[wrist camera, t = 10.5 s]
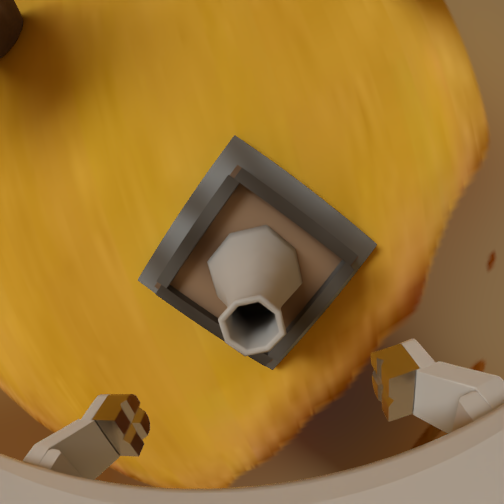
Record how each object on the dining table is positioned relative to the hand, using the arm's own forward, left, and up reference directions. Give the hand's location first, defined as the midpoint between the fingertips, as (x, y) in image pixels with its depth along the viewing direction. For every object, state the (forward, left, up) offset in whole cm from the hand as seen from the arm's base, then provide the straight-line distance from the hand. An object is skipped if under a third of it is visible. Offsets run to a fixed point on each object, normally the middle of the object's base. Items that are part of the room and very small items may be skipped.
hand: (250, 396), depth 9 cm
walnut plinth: (0, 0, -19) cm, 19 cm away
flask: (0, 0, -16) cm, 16 cm away
